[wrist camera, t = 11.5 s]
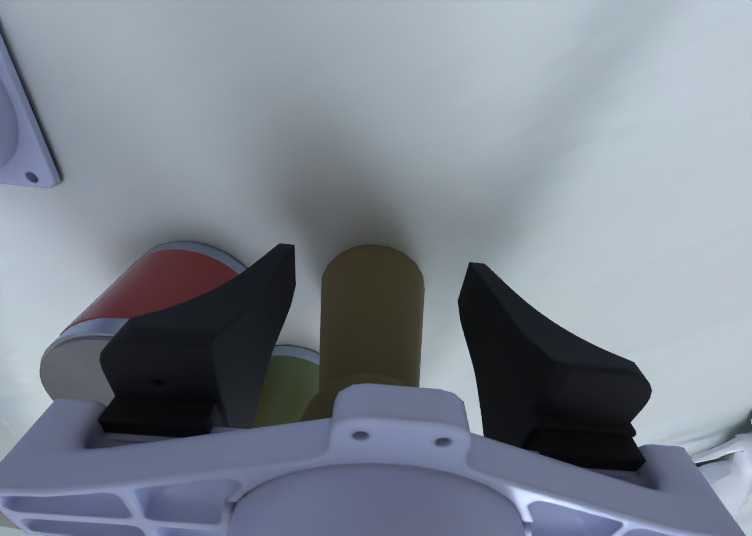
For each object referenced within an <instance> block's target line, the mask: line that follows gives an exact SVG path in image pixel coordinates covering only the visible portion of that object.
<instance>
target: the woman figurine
mask: <svg viewBox="0 0 752 536" xmlns="http://www.w3.org/2000/svg"><path fill="white" fill-rule="evenodd" d="M751 423H752V419H751ZM734 437H735V438H733V439H731V440H730V441H728V442H726V443H724V444H722V445H720V446H717V447H715V448H712V449H710V450H707V451H704V452H701V453H698V454H696V455H695V456H692V457H691V459H692V460H693V462H694V463H698V462H703V461H708V460H713V459H716V458H719V457H721V456H724V455H726V454H729V453H733V452H734V456H733V459H732V461H724V460H722V461H718V462H714V463H709V464H705V465H702V466H700V467H698V469H699V470H700V472H701V473H702V474H703V476H704V477H705V479H706V480H707V482H708V483H709V484H710V486H711V487H712V489H713V490H714V491H715V493H716V494H717V496H718V497H719V499H720V500H721V501H722V503H723V504H724V506H725V507H726V508H727V510H728V511H729V513H730V514H731V515H732V517H733V518H734V520H735V521H736V519H737V517H738V516H739V514H740V512H741V511H742V509H743V507H744V505H745V504H746V502H747V500H748V498H749V496H750V494H751V491H752V433H744V434H738V435H734Z"/></svg>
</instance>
